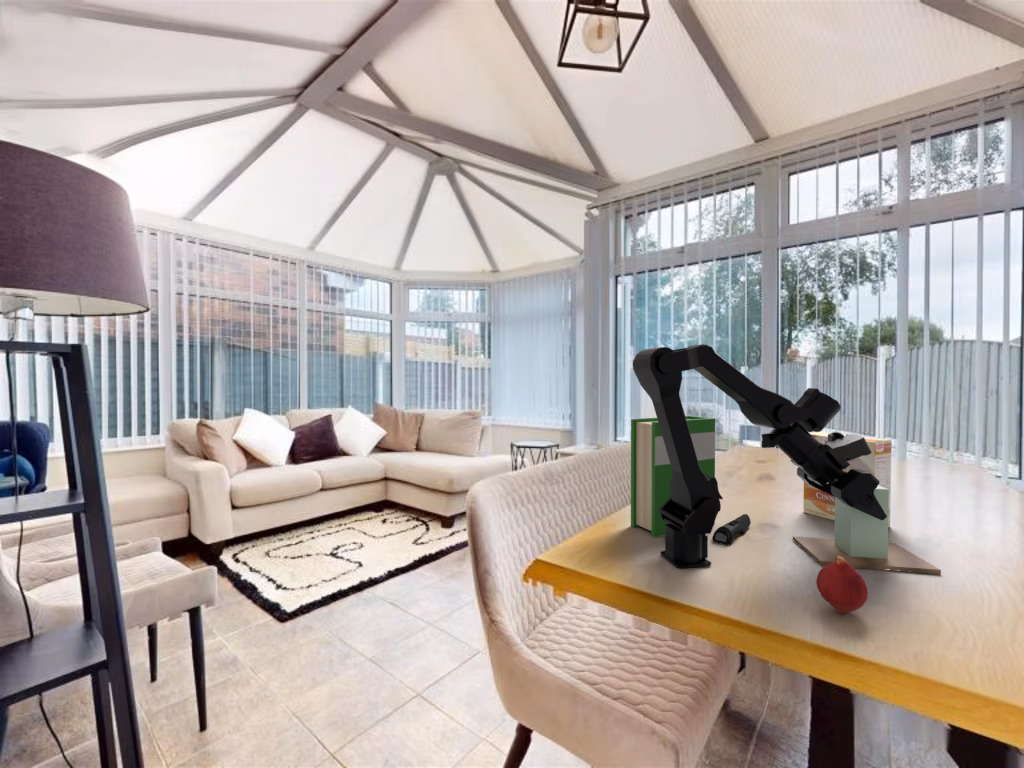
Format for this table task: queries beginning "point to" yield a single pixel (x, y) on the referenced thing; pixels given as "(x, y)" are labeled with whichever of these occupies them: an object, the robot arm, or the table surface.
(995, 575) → the table surface
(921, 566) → the brown board
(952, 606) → the table surface
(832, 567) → the onion
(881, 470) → the coffeecake box
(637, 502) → the hardback book
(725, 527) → the electric trimmer
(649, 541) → the table surface
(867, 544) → the mint green prism
